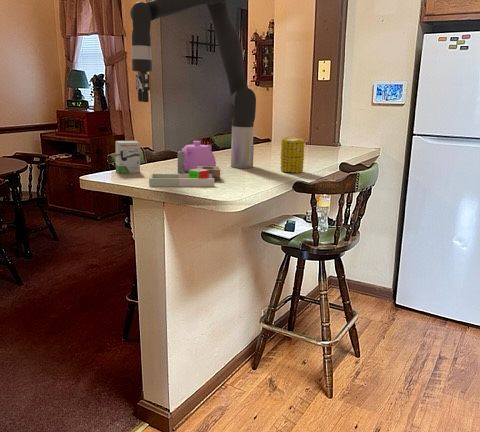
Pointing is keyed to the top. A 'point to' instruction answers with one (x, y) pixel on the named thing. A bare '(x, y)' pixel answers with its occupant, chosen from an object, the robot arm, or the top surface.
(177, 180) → the tray
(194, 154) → the purple bag
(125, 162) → the ink box
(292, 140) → the food
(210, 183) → the guide rails
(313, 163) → the top surface
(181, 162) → the pin gauge
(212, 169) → the bore block
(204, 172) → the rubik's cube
